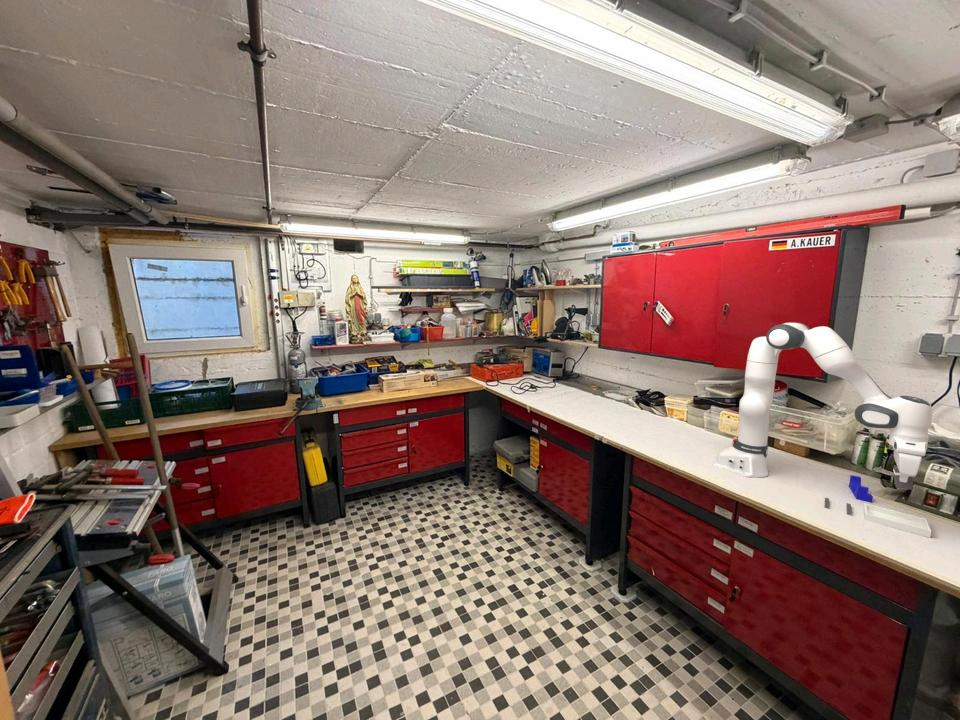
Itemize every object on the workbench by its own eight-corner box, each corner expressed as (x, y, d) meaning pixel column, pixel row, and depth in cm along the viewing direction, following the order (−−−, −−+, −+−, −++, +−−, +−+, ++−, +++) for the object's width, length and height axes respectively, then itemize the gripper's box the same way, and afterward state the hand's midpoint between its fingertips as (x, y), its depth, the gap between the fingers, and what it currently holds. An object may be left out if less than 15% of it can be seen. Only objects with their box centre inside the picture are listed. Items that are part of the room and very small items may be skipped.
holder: (824, 509, 142) (824, 505, 142) (824, 500, 148) (825, 497, 148) (851, 516, 137) (851, 512, 137) (850, 507, 143) (850, 504, 143)
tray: (864, 520, 135) (865, 513, 134) (863, 508, 142) (863, 502, 141) (930, 537, 124) (931, 531, 124) (924, 524, 131) (926, 518, 131)
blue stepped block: (871, 503, 146) (873, 489, 145) (856, 500, 148) (858, 486, 147) (863, 490, 155) (865, 477, 154) (848, 487, 158) (850, 475, 157)
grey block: (895, 487, 130) (894, 468, 130) (893, 483, 133) (892, 464, 133) (913, 490, 127) (913, 470, 127) (911, 485, 130) (910, 466, 130)
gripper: (891, 432, 138) (885, 466, 140) (897, 448, 123) (891, 486, 125) (916, 436, 133) (910, 471, 135) (926, 453, 119) (920, 492, 121)
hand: (901, 478), depth 130 cm, fingers closed on grey block, 4 cm apart
